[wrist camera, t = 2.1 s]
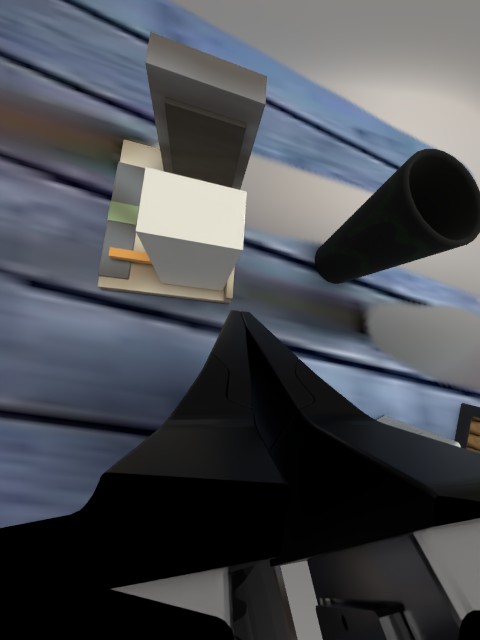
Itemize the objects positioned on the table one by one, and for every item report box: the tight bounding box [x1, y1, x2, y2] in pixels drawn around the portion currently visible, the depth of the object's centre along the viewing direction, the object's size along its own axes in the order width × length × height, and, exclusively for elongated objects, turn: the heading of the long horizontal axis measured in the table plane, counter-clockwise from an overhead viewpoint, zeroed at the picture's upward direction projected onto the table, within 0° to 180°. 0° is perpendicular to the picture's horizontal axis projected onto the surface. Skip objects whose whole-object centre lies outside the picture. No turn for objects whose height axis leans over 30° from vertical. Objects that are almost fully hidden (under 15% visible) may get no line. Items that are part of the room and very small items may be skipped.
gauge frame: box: [98, 32, 267, 304], centre depth 17 cm, size 16×12×10 cm
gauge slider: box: [109, 167, 247, 291], centre depth 16 cm, size 4×10×9 cm, turn 87°
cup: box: [315, 149, 480, 284], centre depth 20 cm, size 8×8×12 cm
